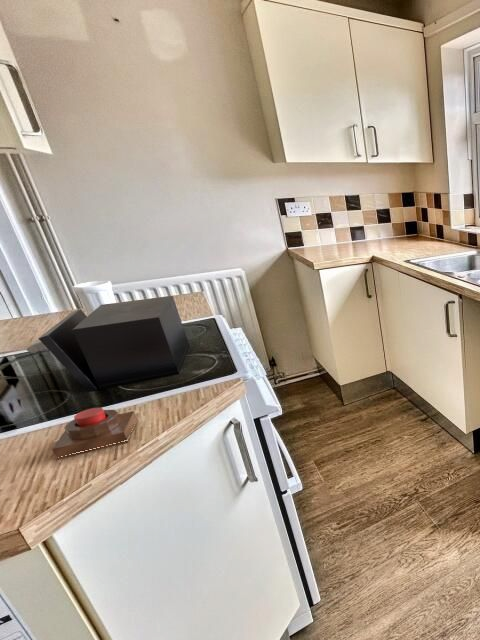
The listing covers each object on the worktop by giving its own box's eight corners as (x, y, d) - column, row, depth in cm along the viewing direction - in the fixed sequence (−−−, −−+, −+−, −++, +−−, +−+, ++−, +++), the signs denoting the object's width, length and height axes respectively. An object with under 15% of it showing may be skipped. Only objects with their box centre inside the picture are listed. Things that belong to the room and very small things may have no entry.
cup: (134, 324, 130) (117, 279, 124) (118, 334, 122) (98, 286, 117) (104, 327, 128) (85, 281, 123) (85, 336, 121) (64, 288, 115)
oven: (99, 390, 90) (72, 329, 85) (122, 357, 106) (100, 304, 101) (179, 374, 97) (158, 317, 91) (189, 346, 113) (172, 295, 107)
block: (57, 460, 68) (46, 439, 67) (74, 435, 75) (64, 416, 73) (128, 442, 72) (119, 423, 71) (138, 420, 79) (130, 402, 77)
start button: (75, 430, 70) (70, 421, 69) (82, 419, 73) (77, 411, 72) (103, 423, 71) (99, 414, 71) (109, 413, 74) (105, 405, 74)
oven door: (66, 401, 88) (14, 346, 81) (95, 366, 104) (53, 318, 98) (97, 389, 90) (47, 335, 83) (120, 356, 106) (80, 308, 99)
